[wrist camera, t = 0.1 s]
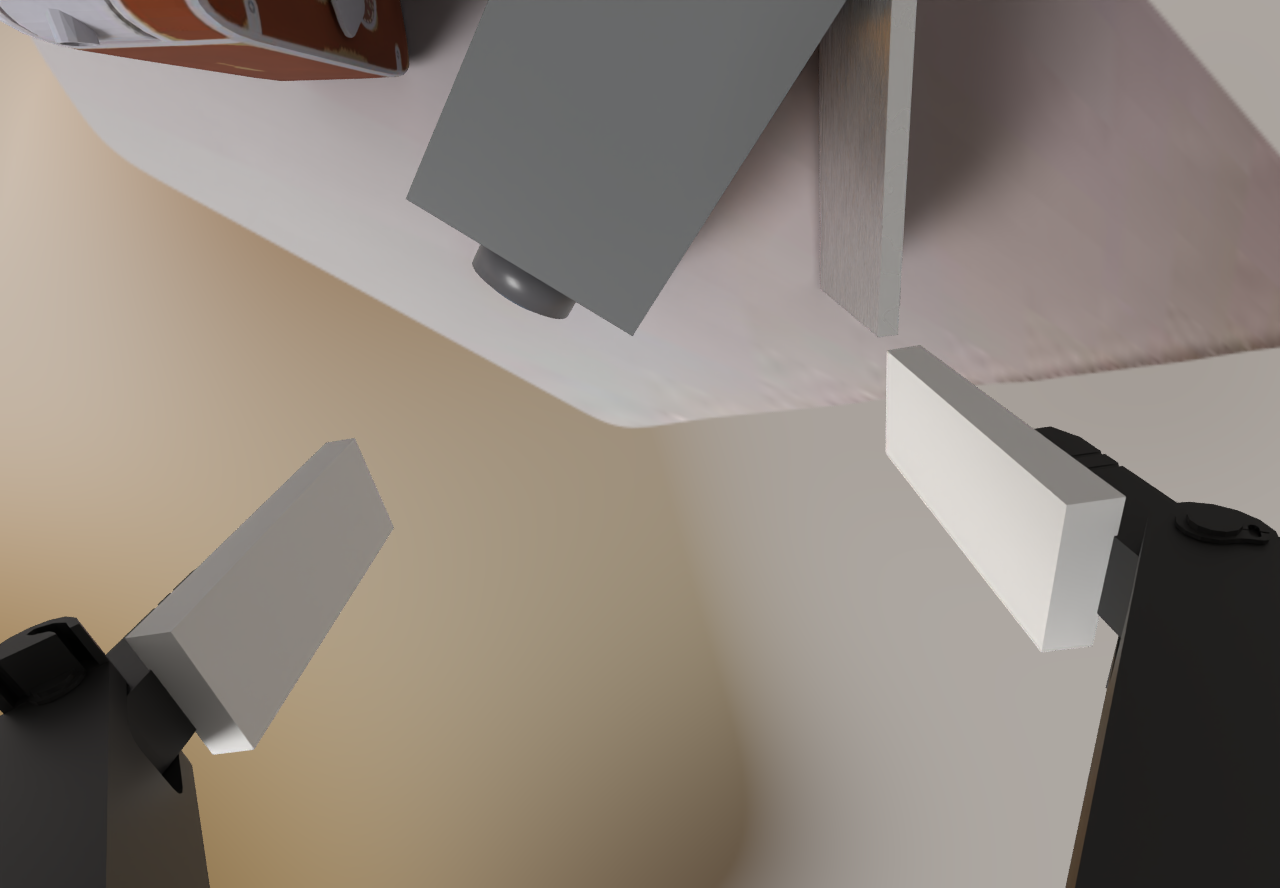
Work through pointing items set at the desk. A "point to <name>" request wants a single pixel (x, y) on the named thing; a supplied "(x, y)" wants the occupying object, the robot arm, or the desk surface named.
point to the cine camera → (229, 34)
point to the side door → (865, 156)
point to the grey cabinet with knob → (605, 138)
